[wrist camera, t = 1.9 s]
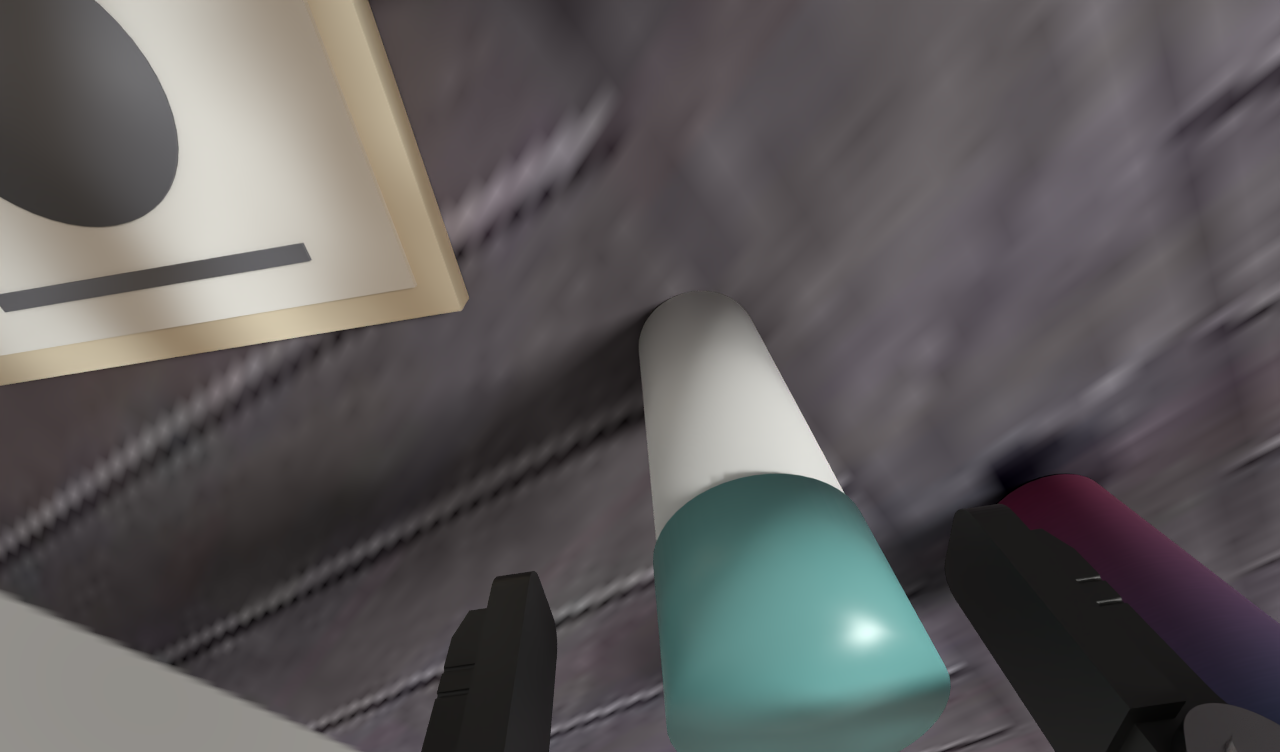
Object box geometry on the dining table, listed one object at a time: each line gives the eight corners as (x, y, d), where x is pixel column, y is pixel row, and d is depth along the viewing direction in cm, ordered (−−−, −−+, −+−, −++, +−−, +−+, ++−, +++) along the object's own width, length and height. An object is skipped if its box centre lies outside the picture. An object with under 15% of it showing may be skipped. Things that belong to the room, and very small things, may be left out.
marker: (755, 278, 17) (971, 607, 7) (760, 388, 19) (931, 765, 9) (626, 299, 17) (647, 651, 7) (645, 405, 20) (683, 796, 9)
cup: (929, 534, 24) (1312, 1108, 11) (1067, 429, 21) (1799, 1024, 8) (1020, 589, 26) (1429, 1119, 13) (1155, 500, 23) (1839, 1056, 10)
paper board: (232, -399, 10) (184, -457, 9) (468, 297, 17) (459, 314, 16) (-547, -229, 11) (-685, -263, 9) (-6, 375, 18) (-48, 396, 17)
